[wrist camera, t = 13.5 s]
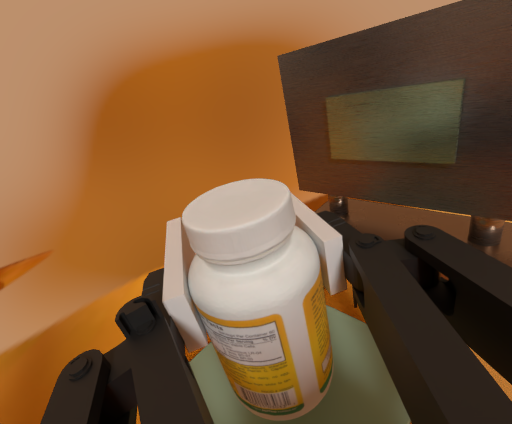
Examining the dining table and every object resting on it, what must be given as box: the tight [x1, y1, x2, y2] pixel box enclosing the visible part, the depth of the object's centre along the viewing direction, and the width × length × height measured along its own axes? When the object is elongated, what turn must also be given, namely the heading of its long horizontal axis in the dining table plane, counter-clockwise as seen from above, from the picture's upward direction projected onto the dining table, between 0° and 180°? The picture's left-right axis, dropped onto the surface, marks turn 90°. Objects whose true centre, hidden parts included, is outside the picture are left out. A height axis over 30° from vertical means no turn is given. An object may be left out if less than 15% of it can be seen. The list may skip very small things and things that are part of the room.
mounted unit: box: [278, 0, 512, 280], centre depth 18 cm, size 14×5×16 cm, turn 47°
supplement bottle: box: [182, 179, 333, 421], centre depth 12 cm, size 5×5×10 cm
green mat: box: [189, 305, 411, 424], centre depth 15 cm, size 11×11×1 cm
